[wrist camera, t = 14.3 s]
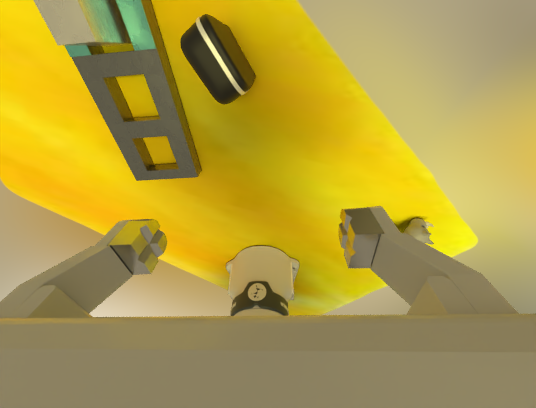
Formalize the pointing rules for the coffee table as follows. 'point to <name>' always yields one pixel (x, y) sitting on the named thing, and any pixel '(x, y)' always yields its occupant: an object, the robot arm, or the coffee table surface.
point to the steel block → (84, 22)
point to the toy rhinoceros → (419, 230)
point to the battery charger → (217, 59)
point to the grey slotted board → (161, 87)
